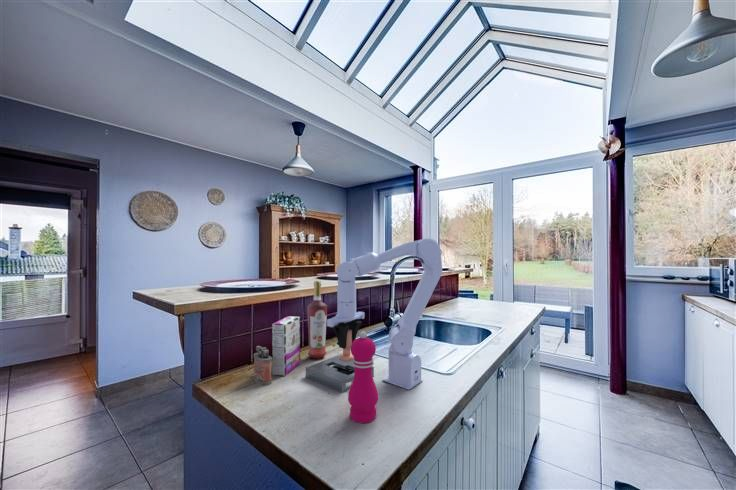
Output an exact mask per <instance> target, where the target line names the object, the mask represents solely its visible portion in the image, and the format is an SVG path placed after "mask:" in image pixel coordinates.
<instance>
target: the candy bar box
mask: <svg viewBox="0 0 736 490" xmlns="http://www.w3.org/2000/svg"><path fill="white" fill-rule="evenodd" d="M271 324H272V325H271V334H272V335H271V343H272V345H271V346H272V349H271V350H272V356H271V357H272V361H271V372H272V376H279V377H280V376H281V377H284V376H285V377H286V376H287V375H288V374H290V373H291V372H292V371H293V370H294V369H295V368H296V367H297V366H299V365H300V364H301V316H291V315H289V316H285V317H283V318H281V319H279V320H278V321H276V322H275V321H274V323H271Z"/></svg>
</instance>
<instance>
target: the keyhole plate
mask: <svg viewBox="0 0 736 490" xmlns="http://www.w3.org/2000/svg"><path fill="white" fill-rule="evenodd" d="M332 366H333V367H332ZM335 367H337V368H335ZM338 368H340V369H343V370H346V371H349V372H352V373H350V374H345V373H343V372H340V371H338ZM354 374H355V366H353V361H350V362H343V361H340V360H339V355H335V356H332V357H331V358H327V359H325V360H322V361H320V362H316V363H314V364H311V365H308V366H305V378H307V379H309V380H311V381H314V382H316V383H319V384H321V385H323V386H326V387H328V388H331V389H333V390H335V391H337V392H339V393H344V392H347V384H348V383H350V382H353V379H354ZM374 374H375V366H374V365H373V366H372V377H373V378H374V377H375V375H374Z"/></svg>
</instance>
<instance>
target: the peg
mask: <svg viewBox="0 0 736 490" xmlns="http://www.w3.org/2000/svg"><path fill="white" fill-rule="evenodd" d="M351 345H352V330H350V329H348V333H347V342H346V348H345V349H343V348H342V353H340V354H339V355H338V356H339V360H340V361H343V362H350V361H353V358H354V356H353V355H352V354H351Z"/></svg>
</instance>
